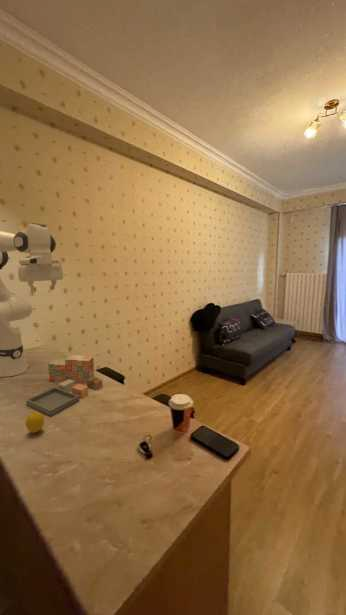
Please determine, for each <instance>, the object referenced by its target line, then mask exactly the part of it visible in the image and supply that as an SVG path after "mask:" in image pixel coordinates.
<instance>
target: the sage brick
mask: <svg viewBox="0 0 346 615" xmlns="http://www.w3.org/2000/svg"><path fill="white" fill-rule="evenodd" d="M75 385H76V383H75V381H73V380H70V379H68V380H66V381H64V382H60V383H57V388H59V389H62V390H65V391H68V392H70V391H71V392H72V387H73V386H75Z"/></svg>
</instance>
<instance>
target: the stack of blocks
mask: <svg viewBox="0 0 346 615" xmlns="http://www.w3.org/2000/svg"><path fill="white" fill-rule="evenodd" d="M47 365H48V376H49V379H48V380H49V382H60V383H61V382H64V381H66V380H68V379H70V380H73V381H75V384H77V383H78V384H86V385H87V380H88V379H90V378H92V377H95V374H94V373H95V369H94V367H95V365H94V356H88V355H74V354H73V355H69V356H68V357H66V358H65V360H62V359H53V360H52V361H51V362H49V363H48V364H47Z"/></svg>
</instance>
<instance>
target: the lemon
mask: <svg viewBox="0 0 346 615" xmlns="http://www.w3.org/2000/svg"><path fill="white" fill-rule="evenodd" d="M44 420H45V418H44V417H43V413H42V412H39V411H33V412H31V413H30V414H28V416H27V418H26V422H25V424H26V426H25V427H26V429H27V430H28V431H29V432H30V433H34V434H35V433H38V432H39V431H41V430H42V428H43V427H44V423H45V421H44Z"/></svg>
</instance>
